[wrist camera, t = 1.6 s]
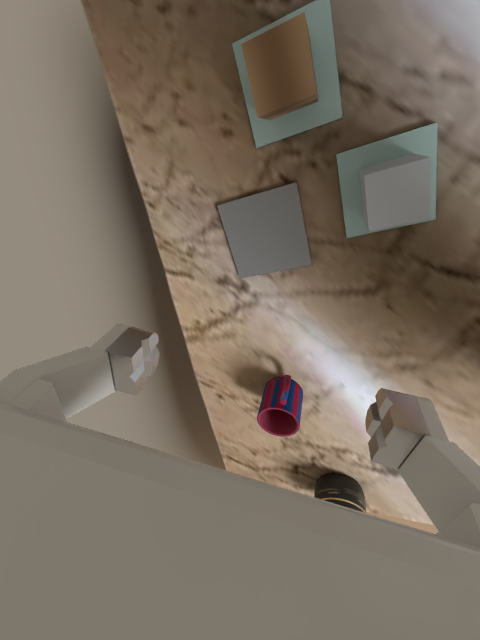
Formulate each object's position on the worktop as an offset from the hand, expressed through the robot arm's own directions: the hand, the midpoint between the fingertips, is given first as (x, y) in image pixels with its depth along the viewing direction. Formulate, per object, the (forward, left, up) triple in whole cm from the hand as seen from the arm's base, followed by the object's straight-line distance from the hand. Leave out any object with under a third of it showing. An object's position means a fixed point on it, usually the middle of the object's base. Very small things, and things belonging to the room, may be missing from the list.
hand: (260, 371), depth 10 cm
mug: (+9, +28, -29) cm, 41 cm away
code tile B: (-8, 0, -29) cm, 30 cm away
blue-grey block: (-8, 0, -28) cm, 29 cm away
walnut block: (0, -12, -28) cm, 31 cm away
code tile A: (0, -12, -29) cm, 31 cm away
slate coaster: (+6, +2, -29) cm, 29 cm away
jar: (+4, +57, -29) cm, 64 cm away
